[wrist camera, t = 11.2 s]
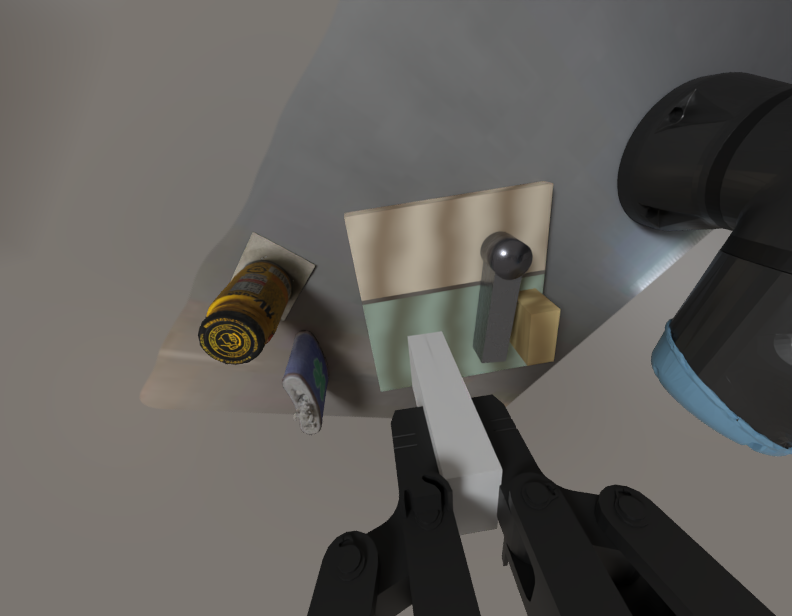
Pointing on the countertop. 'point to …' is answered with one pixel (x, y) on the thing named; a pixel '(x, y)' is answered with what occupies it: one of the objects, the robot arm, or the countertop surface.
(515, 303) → the latch bar
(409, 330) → the two-tone base plate
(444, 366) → the robot arm
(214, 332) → the condiment
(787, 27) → the countertop surface
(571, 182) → the countertop surface
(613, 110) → the countertop surface
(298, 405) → the flask
